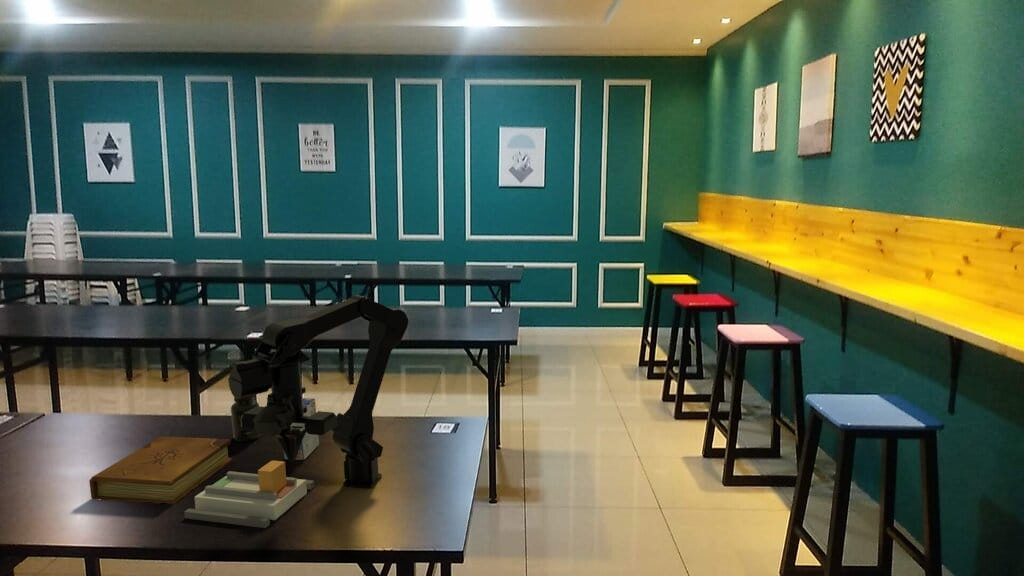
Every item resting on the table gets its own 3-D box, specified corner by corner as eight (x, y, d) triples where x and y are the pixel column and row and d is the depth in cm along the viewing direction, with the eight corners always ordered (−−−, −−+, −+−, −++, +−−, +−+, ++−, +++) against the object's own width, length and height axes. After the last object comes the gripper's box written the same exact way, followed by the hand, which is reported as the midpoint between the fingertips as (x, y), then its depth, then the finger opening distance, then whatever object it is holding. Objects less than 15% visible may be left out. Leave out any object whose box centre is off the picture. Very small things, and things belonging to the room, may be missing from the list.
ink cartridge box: (298, 444, 177) (294, 388, 175) (319, 444, 177) (316, 389, 174) (282, 460, 168) (277, 401, 165) (304, 460, 167) (300, 401, 165)
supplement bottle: (232, 435, 184) (228, 390, 182) (260, 430, 187) (256, 387, 185) (234, 444, 178) (230, 398, 176) (262, 439, 181) (259, 394, 179)
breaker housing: (306, 493, 150) (305, 474, 149) (275, 520, 138) (273, 500, 138) (232, 485, 154) (231, 467, 153) (195, 510, 143) (194, 491, 142)
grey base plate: (314, 486, 153) (314, 480, 153) (265, 528, 135) (265, 521, 135) (241, 479, 157) (241, 473, 157) (184, 518, 140) (184, 511, 139)
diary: (160, 458, 171) (158, 436, 170) (232, 462, 168) (230, 439, 167) (91, 501, 148) (88, 475, 147) (173, 506, 146) (171, 479, 145)
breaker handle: (286, 484, 147) (285, 461, 146) (272, 495, 142) (271, 471, 141) (273, 483, 147) (272, 460, 146) (259, 493, 142) (257, 470, 142)
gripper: (219, 395, 135) (226, 472, 137) (305, 402, 130) (311, 482, 132) (255, 378, 145) (261, 450, 148) (336, 384, 140) (341, 458, 143)
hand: (292, 460), depth 143 cm, fingers closed
